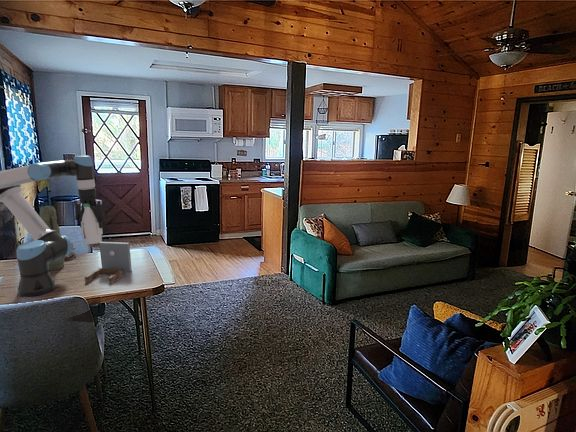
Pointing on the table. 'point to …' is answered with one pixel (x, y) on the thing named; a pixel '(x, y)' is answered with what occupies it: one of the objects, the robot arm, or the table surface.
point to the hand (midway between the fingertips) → (92, 234)
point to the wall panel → (115, 255)
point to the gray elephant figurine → (72, 251)
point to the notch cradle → (102, 271)
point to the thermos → (51, 221)
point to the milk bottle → (90, 226)
